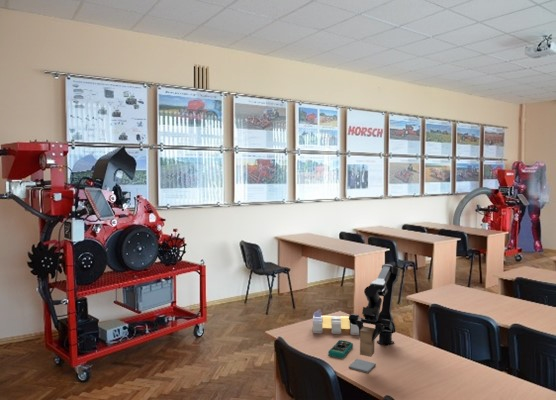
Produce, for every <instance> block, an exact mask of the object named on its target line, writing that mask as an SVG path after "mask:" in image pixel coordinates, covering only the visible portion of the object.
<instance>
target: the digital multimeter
mask: <svg viewBox="0 0 556 400" xmlns="http://www.w3.org/2000/svg"><path fill="white" fill-rule="evenodd" d="M353 348H354V343H353V342H351V341H347V340H343V339H341V340H340V339H339V340H338V341H337V342H336V343H335V344H334V345H333V346H332V348H330V349H328V353H327V354H328V356H330V357H333V358H337V359H345V357H346V356H347V354H348V353H349V352H350V350H351V349H353Z"/></svg>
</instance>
